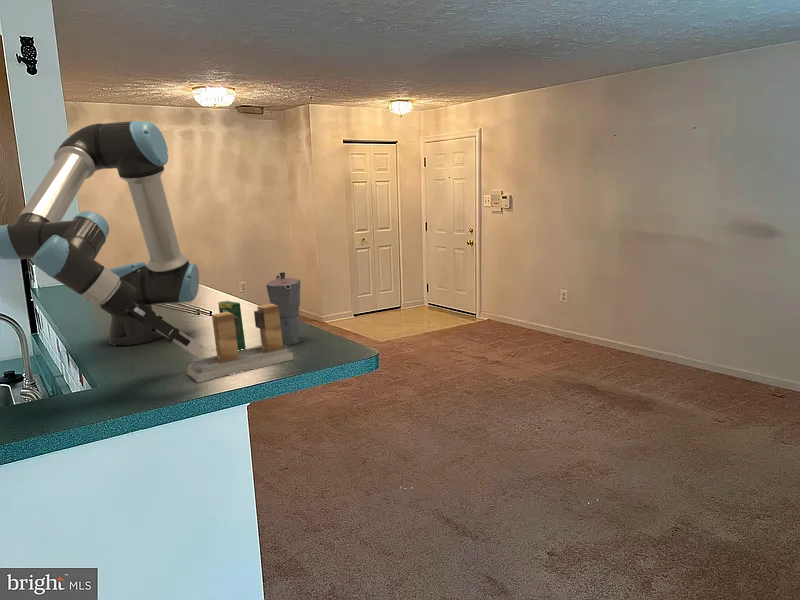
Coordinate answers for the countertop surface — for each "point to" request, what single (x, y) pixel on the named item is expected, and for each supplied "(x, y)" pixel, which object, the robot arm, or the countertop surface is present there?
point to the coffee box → (236, 310)
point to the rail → (237, 363)
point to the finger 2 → (269, 327)
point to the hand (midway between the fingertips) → (190, 345)
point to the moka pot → (287, 307)
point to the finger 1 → (226, 336)
